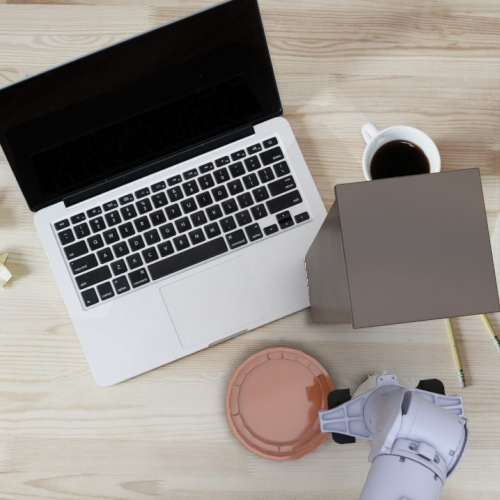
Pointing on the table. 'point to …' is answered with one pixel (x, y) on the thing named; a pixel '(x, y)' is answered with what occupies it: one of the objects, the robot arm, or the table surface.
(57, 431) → the table surface
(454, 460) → the robot arm
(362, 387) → the toy creature
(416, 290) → the taupe notched tower
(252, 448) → the bowl
